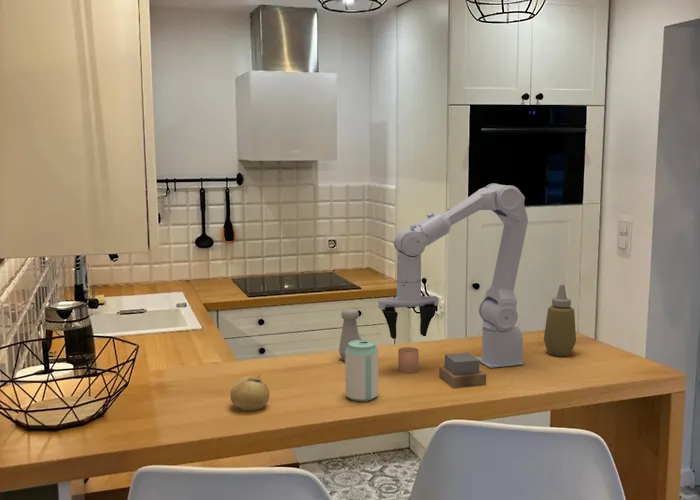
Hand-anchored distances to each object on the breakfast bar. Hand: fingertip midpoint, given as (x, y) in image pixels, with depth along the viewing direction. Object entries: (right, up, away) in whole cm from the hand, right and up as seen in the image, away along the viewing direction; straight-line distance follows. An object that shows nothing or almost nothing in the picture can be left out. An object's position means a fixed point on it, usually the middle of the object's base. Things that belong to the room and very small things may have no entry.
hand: (408, 336), depth 171 cm
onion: (-35, -12, -22) cm, 43 cm away
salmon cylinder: (0, -8, +1) cm, 8 cm away
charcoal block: (+12, -7, -7) cm, 15 cm away
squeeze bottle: (+40, -6, +14) cm, 43 cm away
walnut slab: (+12, -10, -7) cm, 17 cm away
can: (-11, -11, -16) cm, 23 cm away
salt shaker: (-14, -7, +10) cm, 18 cm away
